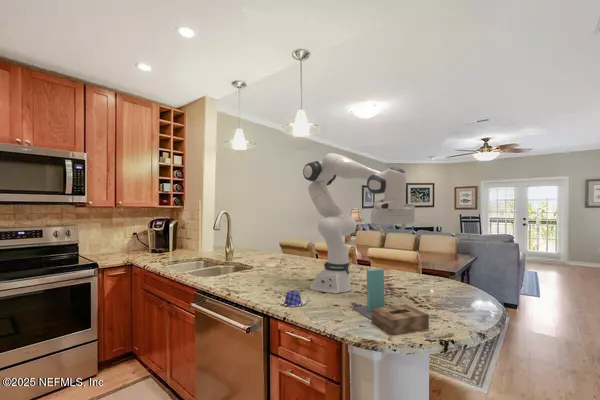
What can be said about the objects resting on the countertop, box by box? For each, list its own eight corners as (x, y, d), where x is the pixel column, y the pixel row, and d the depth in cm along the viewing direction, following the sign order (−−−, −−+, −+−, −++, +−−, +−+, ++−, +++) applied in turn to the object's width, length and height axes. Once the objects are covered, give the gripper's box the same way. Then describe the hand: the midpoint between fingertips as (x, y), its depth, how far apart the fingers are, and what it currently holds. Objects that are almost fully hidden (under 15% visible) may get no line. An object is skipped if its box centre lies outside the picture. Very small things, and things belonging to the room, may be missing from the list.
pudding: (311, 303, 133) (311, 292, 133) (291, 310, 125) (291, 297, 125) (294, 297, 142) (294, 287, 142) (274, 303, 134) (274, 292, 134)
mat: (371, 320, 112) (371, 319, 112) (352, 308, 125) (352, 307, 125) (400, 315, 117) (400, 314, 117) (380, 304, 130) (380, 303, 130)
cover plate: (369, 312, 119) (369, 271, 119) (367, 311, 121) (366, 270, 121) (384, 310, 121) (383, 269, 122) (381, 308, 123) (380, 268, 124)
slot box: (391, 335, 99) (391, 320, 99) (371, 322, 110) (371, 309, 110) (428, 328, 104) (428, 314, 104) (406, 316, 115) (405, 304, 115)
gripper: (411, 202, 137) (408, 230, 139) (370, 202, 133) (368, 231, 136) (418, 204, 131) (415, 234, 133) (375, 205, 127) (373, 235, 130)
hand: (391, 232), depth 135 cm, fingers open, 8 cm apart
